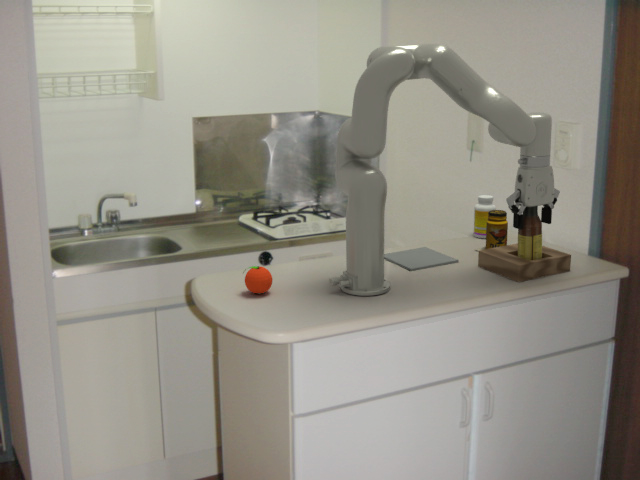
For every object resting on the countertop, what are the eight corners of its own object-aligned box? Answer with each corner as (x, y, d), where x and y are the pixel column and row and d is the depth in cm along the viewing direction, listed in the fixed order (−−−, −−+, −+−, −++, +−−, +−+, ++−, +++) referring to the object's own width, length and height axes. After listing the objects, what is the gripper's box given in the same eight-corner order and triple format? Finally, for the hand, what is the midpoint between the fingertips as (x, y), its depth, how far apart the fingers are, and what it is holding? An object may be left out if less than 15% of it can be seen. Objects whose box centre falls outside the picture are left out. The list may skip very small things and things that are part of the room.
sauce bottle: (539, 267, 204) (543, 195, 199) (543, 274, 198) (547, 200, 193) (514, 267, 204) (517, 195, 199) (518, 274, 198) (521, 200, 193)
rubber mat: (411, 271, 203) (411, 268, 203) (379, 256, 217) (379, 254, 216) (458, 262, 210) (458, 260, 210) (425, 248, 224) (425, 246, 224)
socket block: (518, 282, 192) (519, 265, 191) (478, 266, 206) (478, 250, 204) (570, 271, 200) (571, 254, 199) (528, 256, 214) (528, 241, 212)
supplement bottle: (495, 239, 232) (497, 198, 229) (473, 238, 233) (474, 198, 230) (494, 234, 239) (496, 194, 235) (473, 233, 240) (474, 194, 236)
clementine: (236, 295, 187) (235, 268, 185) (250, 287, 193) (248, 260, 191) (264, 299, 183) (263, 271, 182) (277, 290, 190) (276, 263, 188)
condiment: (498, 256, 215) (500, 215, 212) (474, 250, 221) (475, 210, 218) (513, 250, 220) (515, 211, 217) (488, 245, 226) (490, 206, 223)
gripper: (519, 167, 186) (516, 233, 191) (570, 159, 194) (567, 223, 199) (498, 163, 193) (497, 227, 197) (549, 156, 200) (546, 218, 205)
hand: (532, 225), depth 198 cm, fingers open, 9 cm apart
